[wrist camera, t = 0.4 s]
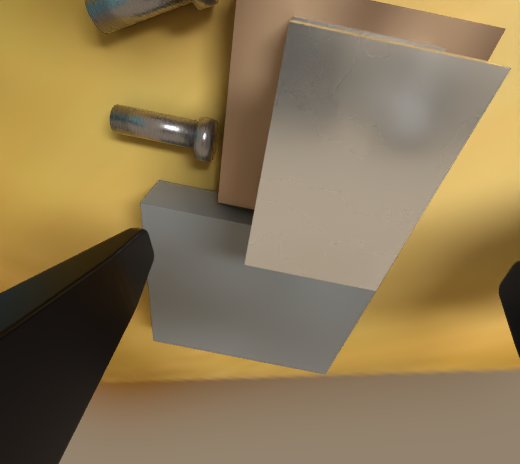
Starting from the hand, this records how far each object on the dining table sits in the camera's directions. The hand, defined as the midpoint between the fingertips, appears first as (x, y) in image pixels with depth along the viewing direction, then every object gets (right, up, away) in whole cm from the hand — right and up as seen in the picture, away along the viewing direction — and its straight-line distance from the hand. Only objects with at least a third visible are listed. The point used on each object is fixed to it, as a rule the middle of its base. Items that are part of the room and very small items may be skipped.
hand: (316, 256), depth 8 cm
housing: (+2, +6, +8) cm, 10 cm away
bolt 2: (-7, +7, +11) cm, 15 cm away
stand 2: (-2, -3, +18) cm, 18 cm away
